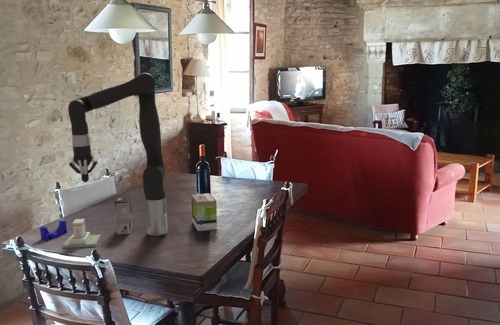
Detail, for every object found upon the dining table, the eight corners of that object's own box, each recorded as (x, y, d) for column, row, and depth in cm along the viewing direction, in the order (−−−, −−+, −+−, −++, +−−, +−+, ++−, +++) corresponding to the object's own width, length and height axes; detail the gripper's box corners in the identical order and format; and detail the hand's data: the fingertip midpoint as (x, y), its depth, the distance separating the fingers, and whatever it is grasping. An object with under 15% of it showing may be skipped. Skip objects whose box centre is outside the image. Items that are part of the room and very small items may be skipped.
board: (100, 236, 229) (100, 230, 228) (95, 246, 217) (95, 239, 216) (70, 238, 227) (69, 231, 227) (63, 248, 216) (62, 241, 215)
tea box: (217, 229, 236) (216, 200, 233) (197, 231, 234) (196, 202, 231) (211, 220, 251) (210, 192, 248) (191, 222, 248) (190, 194, 245)
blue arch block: (47, 241, 225) (46, 228, 224) (41, 239, 227) (40, 227, 226) (69, 233, 235) (68, 221, 234) (63, 231, 237) (62, 220, 236)
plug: (86, 237, 225) (84, 218, 223) (83, 242, 219) (81, 222, 217) (77, 237, 224) (75, 219, 222) (73, 242, 218) (72, 223, 217)
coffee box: (119, 228, 241) (117, 196, 237) (132, 227, 241) (130, 196, 238) (116, 234, 232) (114, 201, 228) (130, 233, 232) (128, 201, 229)
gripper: (98, 142, 222) (101, 179, 226) (68, 143, 221) (72, 180, 225) (95, 144, 215) (99, 182, 219) (64, 146, 214) (68, 184, 217)
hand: (85, 181), depth 222 cm, fingers closed
